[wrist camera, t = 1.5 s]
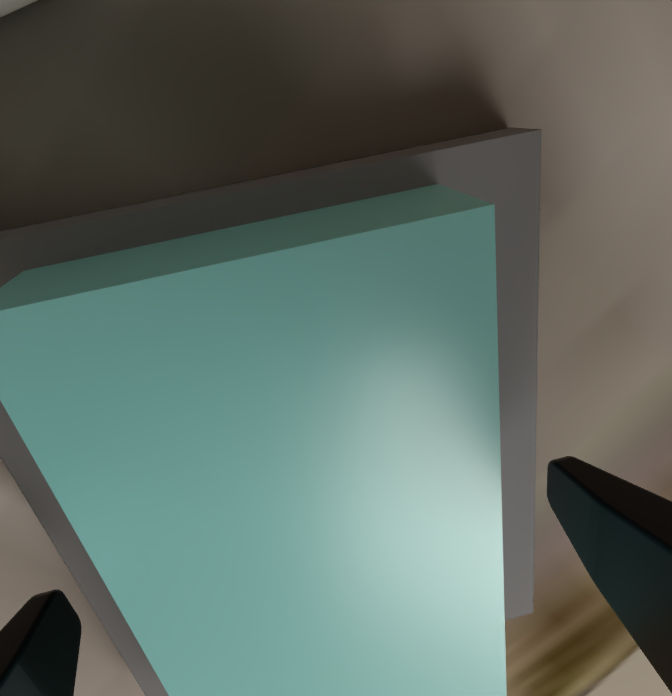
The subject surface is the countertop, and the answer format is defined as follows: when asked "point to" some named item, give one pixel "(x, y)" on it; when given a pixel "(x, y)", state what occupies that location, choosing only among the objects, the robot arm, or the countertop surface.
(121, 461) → the lid
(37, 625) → the robot arm
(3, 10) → the white cup
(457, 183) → the mat
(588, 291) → the countertop surface
